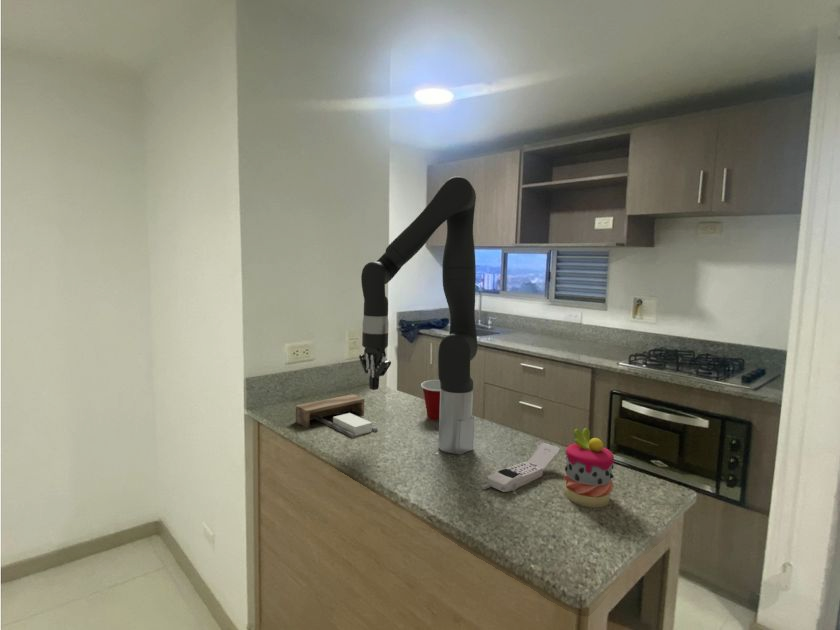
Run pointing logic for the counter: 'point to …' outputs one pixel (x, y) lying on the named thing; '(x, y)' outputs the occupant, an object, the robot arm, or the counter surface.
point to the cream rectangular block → (353, 423)
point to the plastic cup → (432, 398)
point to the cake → (588, 471)
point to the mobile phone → (523, 470)
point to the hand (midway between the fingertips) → (373, 389)
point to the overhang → (330, 411)
